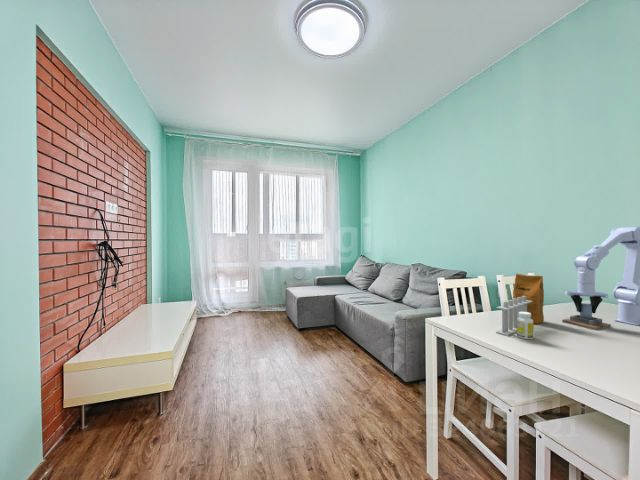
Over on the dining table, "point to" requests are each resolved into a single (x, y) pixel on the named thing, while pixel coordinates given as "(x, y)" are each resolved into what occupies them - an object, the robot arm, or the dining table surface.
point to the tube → (586, 311)
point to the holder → (586, 322)
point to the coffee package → (531, 294)
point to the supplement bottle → (525, 325)
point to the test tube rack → (512, 314)
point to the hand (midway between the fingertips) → (585, 312)
